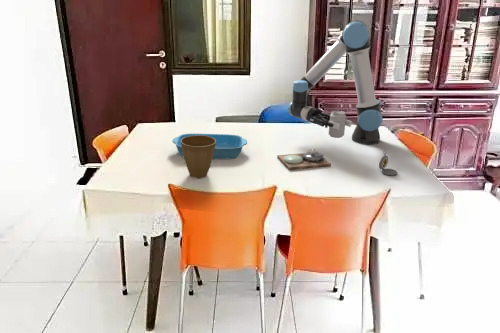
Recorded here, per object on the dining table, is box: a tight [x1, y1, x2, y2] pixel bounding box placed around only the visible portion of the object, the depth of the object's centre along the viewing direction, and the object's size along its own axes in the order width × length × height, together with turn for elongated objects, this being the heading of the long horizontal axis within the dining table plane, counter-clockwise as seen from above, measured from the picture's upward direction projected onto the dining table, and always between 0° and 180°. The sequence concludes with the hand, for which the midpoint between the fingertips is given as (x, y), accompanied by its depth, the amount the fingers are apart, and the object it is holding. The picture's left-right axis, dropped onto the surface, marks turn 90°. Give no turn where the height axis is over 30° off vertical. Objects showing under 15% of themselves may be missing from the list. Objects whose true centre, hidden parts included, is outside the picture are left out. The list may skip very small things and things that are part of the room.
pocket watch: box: [378, 151, 398, 176], centre depth 196 cm, size 8×8×10 cm
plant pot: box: [181, 135, 216, 179], centre depth 187 cm, size 15×15×16 cm
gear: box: [302, 148, 325, 163], centre depth 207 cm, size 11×11×5 cm
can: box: [328, 110, 347, 139], centre depth 209 cm, size 8×8×12 cm
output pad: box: [283, 154, 303, 164], centre depth 205 cm, size 9×9×1 cm
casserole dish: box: [172, 133, 248, 160], centre depth 215 cm, size 37×22×7 cm, turn 92°
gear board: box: [276, 151, 332, 171], centre depth 207 cm, size 21×16×2 cm
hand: (344, 125), depth 205 cm, fingers closed on can, 7 cm apart
